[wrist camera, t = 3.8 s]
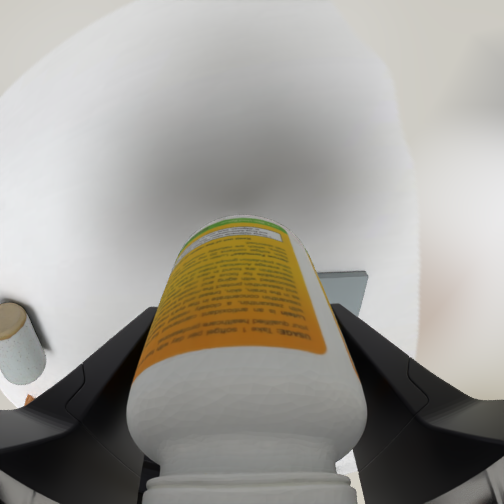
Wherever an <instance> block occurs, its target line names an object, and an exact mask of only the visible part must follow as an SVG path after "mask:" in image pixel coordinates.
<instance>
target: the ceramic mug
mask: <svg viewBox="0 0 504 504" xmlns="http://www.w3.org/2000/svg"><path fill="white" fill-rule="evenodd" d="M45 365H46V355H45V352H44V350H43V348H42V346H41V344H40V342H39V339H38V337H37V335H36V333H35V331H34V328H33V326H32V323H31V321H30V319H29V317H28V315H27V313H26V312H25V310H24V309H23V308H22V307H21V306H20V305H18V304H15V303H3V304H0V370H1V371H2V373H3V375H4V377H5V378H6V379H7V380H8V381H9V382H11V383H13V384H16V385H26V384H29V383H31V382H33V381H35V380H36V379H37V378H38V377H39V376H40V375H41V374H42V372H43V371H44V368H45Z"/></svg>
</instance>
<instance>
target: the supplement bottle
mask: <svg viewBox="0 0 504 504" xmlns="http://www.w3.org/2000/svg"><path fill="white" fill-rule="evenodd" d="M126 417H127V425H128V429H129V432H130V434H131V437H132V438H133V440H134V442H135V444H136V445H137V446H138V448H139V449H140V450H141V451H142V452H143V453H144V454H145V455H146V456H147V457H149V458H150V459H151V460H153V461H154V462H155V463H157V464H159V465H160V475H159V477H156V478H152V479H150V480H148V481H147V484H146V488H147V491H145V492H144V494H143V499H142V504H357V495H356V490H355V489H354V488H353V487H351V486H350V484H351V481H350V479H349V477H347V476H344V475H341V474H337V472H336V468H335V462H337V461H339V460H340V459H342V458H343V457H344V456H345V455H347V454H348V453H349V452H350V451H351V450H352V449H353V448H354V447H355V446H356V444H357V443H358V441H359V440H360V438H361V436H362V434H363V432H364V429H365V426H366V421H367V405H366V400H365V396H364V393H363V389H362V385H361V382H360V379H359V376H358V374H357V371H356V369H355V366H354V363H353V361H352V358H351V355H350V353H349V350H348V348H347V345H346V343H345V340H344V338H343V335H342V333H341V330H340V328H339V325H338V323H337V320H336V318H335V315H334V312H333V310H332V308H331V305H330V303H329V300H328V298H327V295H326V293H325V291H324V288H323V286H322V283H321V281H320V279H319V276H318V274H317V272H316V270H315V267H314V265H313V263H312V261H311V258H310V256H309V254H308V253H307V251H306V249H305V247H304V246H303V244H302V243H301V241H300V240H299V239H298V238H297V237H296V236H295V235H294V234H293V233H292V232H291V231H290V230H289V229H287V228H286V227H284V226H283V225H281V224H279V223H277V222H275V221H273V220H270V219H267V218H263V217H259V216H253V215H233V216H227V217H223V218H219V219H217V220H214V221H212V222H210V223H208V224H206V225H205V226H203V227H202V228H200V229H199V230H198V231H196V232H195V233H194V234H193V235H192V236H191V237H190V238H189V239H188V240H187V242H186V243H185V245H184V246H183V248H182V249H181V251H180V253H179V255H178V257H177V259H176V262H175V264H174V267H173V269H172V272H171V274H170V277H169V280H168V282H167V285H166V287H165V290H164V293H163V295H162V298H161V301H160V303H159V306H158V309H157V312H156V314H155V317H154V320H153V323H152V325H151V328H150V331H149V334H148V337H147V340H146V342H145V345H144V348H143V351H142V354H141V357H140V360H139V363H138V366H137V369H136V372H135V375H134V379H133V382H132V385H131V389H130V393H129V398H128V403H127V413H126Z"/></svg>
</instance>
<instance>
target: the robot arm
mask: <svg viewBox="0 0 504 504" xmlns="http://www.w3.org/2000/svg"><path fill="white" fill-rule="evenodd" d="M330 305H331V308H332V310H333V312H334V315H335V318H336V320H337V323H338V325H339V328H340V330H341V333H342V335H343V338H344V340H345V343H346V345H347V348H348V350H349V353H350V355H351V358H352V361H353V363H354V366H355V369H356V371H357V374H358V376H359V379H360V382H361V385H362V389H363V393H364V396H365V400H366V405H367V421H366V426H365V429H364V432H363V434H362V436H361V438H360V440H359V441H358V443H357V444H356V446H355V447H354V448H353V453H354V457H355V461H356V465H357V469H358V472H359V478H360V482H361V486H362V491H363V495H364V500H365V504H504V400H488V401H487V400H478V399H474V398H472V397H470V396H468V395H466V394H464V393H463V392H461V391H460V390H458V389H456V388H455V387H453V386H451V385H450V384H448V383H447V382H445V381H444V380H442V379H440V378H439V377H437V376H436V375H434V374H433V373H431V372H430V371H428V370H427V369H426V368H424V367H423V366H422V365H420V364H419V363H417V362H416V361H415V360H414V359H412V358H411V357H410V358H409V356H408V355H407V354H406V353H404V352H403V351H402V350H400V349H399V348H398V347H397V346H395V345H394V344H393V343H391V342H390V341H389V340H387V339H386V338H385V337H383V336H382V335H381V334H379V333H378V332H377V331H376V330H374V329H373V328H372V327H370V326H369V325H368V324H366V323H365V322H364V321H362V320H361V319H360V318H358V317H357V316H356V315H354V314H353V313H352V312H350V311H349V310H348V309H346V308H345V307H344V306H342V305H341V304H339V303H332V304H330ZM157 309H158V307H149V308H147V309H146V310H145V311H144V312H143V313H141V314H140V315H139V316H138V317H136V318H135V319H134V320H133V321H132V322H130V323H129V324H128V325H127V326H126V327H124V328H123V329H122V330H121V331H119V332H118V333H117V334H116V335H115V336H113V337H112V338H111V339H110V340H109V341H107V342H106V343H105V344H104V345H103V346H102V347H100V348H99V349H98V350H97V351H96V352H94V353H93V354H92V355H91V356H90V357H89V358H87V359H86V360H85V361H84V362H83V364H80V365H79V366H78V367H77V368H76V369H74V370H73V371H72V372H71V373H69V374H68V375H67V376H66V377H65V378H63V379H62V380H61V381H59V382H58V383H57V384H55V385H54V386H53V387H51V388H50V389H48V390H47V391H45V392H44V393H43V394H41V395H40V396H38V397H37V398H36V399H34V400H33V401H31V402H30V403H29V404H27V405H25V406H23V407H21V408H18V409H14V410H0V504H142V499H143V494H144V492H145V491H147V488H146V484H147V481H148V480H150V479H152V478H156V477H159V475H160V465H159V464H157V463H155V462H154V461H153V460H151V459H150V458H149V457H147V456H146V455H145V454H144V453H143V452H142V451H141V450H140V449H139V448H138V446H137V445H136V444H135V442H134V440H133V438H132V437H131V434H130V432H129V429H128V425H127V417H126V413H127V403H128V398H129V393H130V389H131V385H132V382H133V379H134V375H135V372H136V369H137V366H138V363H139V360H140V357H141V354H142V351H143V348H144V345H145V342H146V340H147V337H148V334H149V331H150V328H151V325H152V323H153V320H154V317H155V314H156V312H157Z"/></svg>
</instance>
